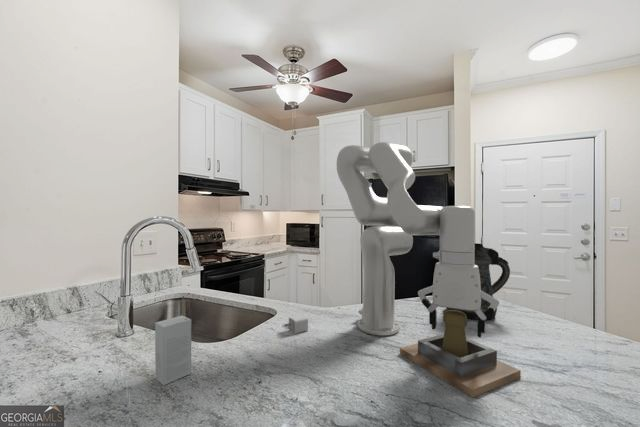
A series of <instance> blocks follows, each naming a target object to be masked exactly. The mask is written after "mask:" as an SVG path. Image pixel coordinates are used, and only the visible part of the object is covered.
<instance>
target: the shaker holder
mask: <svg viewBox="0 0 640 427" xmlns="http://www.w3.org/2000/svg"><path fill="white" fill-rule="evenodd" d="M443 339H444V333H442V334H438V335H435V336H431V337H430V336H429V337H426V338H423V339H418V340H417V343H413V344H410V345H405V346H403V347H400V348H399V354H400V355H401V356H403V357H404V358H406V359H408V360H410V361H411V362H412V363H415V364H416V365H418V366H419V367H421V368H423V369H425V370H426V371H428V372H430V373H431V374H433V375H434V376H436V377H438V378H439V379H441V380H443V381H445V382H446V383H448V384H449V385H452V386H453V387H454V388H456V389H458V390H459V391H461V392H463V393H465V394H466V395H468V396H469V397H471V398H475V397H477V396H480V395H483V394H484V393H487V392H490V391H491V390H492V391H493V389H496V388H499V387H501V386H503V385H506V384H508V383H510V382H512V381H515V380H517V379H520V378H521V375H522V374H521V371H522V370H521V369H520V368H516V367H514V366H512V365H510V364H507V363H505V362H503V361H501V360H498V357H497V356H498V351H497V350H496V349H493V348H491V347H490V346H489V347H488V346H486V345H484V344H482V343H479V342H477V341H474V340H472V339H470V338H467V337H466V341H467V348H468V355H467V356H464V357H461V358H459V357H457V356H455V355H453V354H451V353H449V352H447V351H445V350H443V349H442V346H443Z"/></svg>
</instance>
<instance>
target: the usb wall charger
mask: <svg viewBox="0 0 640 427" xmlns="http://www.w3.org/2000/svg"><path fill="white" fill-rule="evenodd" d="M282 328H285V330H289V331H290V332H291V333H293V334H295V335H297V334H300V333H304V332H307V331H308V330H309V319H308V317H307V316H305V315H303V314H301V315H296V316H295V315H294V316H290V317H289V318H288V322H287V323H285V324H282Z"/></svg>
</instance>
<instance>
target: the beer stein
mask: <svg viewBox="0 0 640 427" xmlns="http://www.w3.org/2000/svg"><path fill="white" fill-rule="evenodd" d="M474 252H475V263H474V264H475V265H477V266H478V269H479V274H480V283H481V291H483V292H485V293H487V294H488V295H490V296H492V297H494V296H493V295H495V294H496V293H497V292H499V291H500V290H501V289H502V288H503V287H504V286H505V285H506V284H507V282H508V280H509V279H510V275H511V269H510V265H509V262H508V261H507V260H506V259H504V258H502V257H500V256H499V252H498V251H496V250H495V249H494V248H491V247H485V246H483V243H476V242H475V251H474ZM490 265H491V266H499V267H500V268H501V270H502V272H501V274H500V277H499V278H498V279H497V280H496V281H495V282H493V284H492V277H491V272H490V271H491V270H490ZM490 304H491V303H490V302H488V301H486V300H485V299H483V298H481V308H482V309H483V311H484V310H485V309H486V308H488V307H489V306H490ZM448 310H457V311H461V312H463V313H464V314H465V315H466V316H467V321H468V320H469V321H476V322H478V317H479V316H478V315H477V314H476V312H475V311H465V310H458V309H451V308H446V311H448ZM497 310H498V307H497V308H496V310H495V311H494V313H493V314H492V315H490V316H489V317H487V318H486V320H485V322H488V321H493V320H495V319H496V315H497Z"/></svg>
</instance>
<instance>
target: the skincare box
mask: <svg viewBox="0 0 640 427" xmlns="http://www.w3.org/2000/svg"><path fill="white" fill-rule="evenodd" d="M154 337H155V339H154V342H155V343H154V344H155V346H154V350H155V351H154V352H155V354H154V355H155V357H154V358H155V362H154V363H155V365H154V366H155V379H156V380H157V381H158V382H159V383H160V384H162V386H165V385H167V384H170V383H172V382H175V381H177V380H179V379H182V378H184V377H186V376H188V375H191V374H192V318H189V317H186V316H184V315H180V316H179V315H178V316H176V317H172V318H167V319H164V320H160V321H156V322H154Z"/></svg>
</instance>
